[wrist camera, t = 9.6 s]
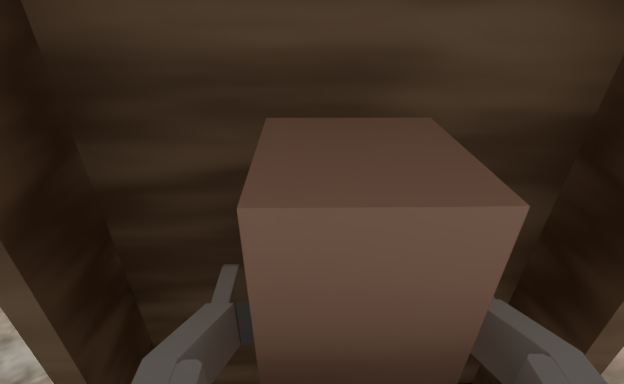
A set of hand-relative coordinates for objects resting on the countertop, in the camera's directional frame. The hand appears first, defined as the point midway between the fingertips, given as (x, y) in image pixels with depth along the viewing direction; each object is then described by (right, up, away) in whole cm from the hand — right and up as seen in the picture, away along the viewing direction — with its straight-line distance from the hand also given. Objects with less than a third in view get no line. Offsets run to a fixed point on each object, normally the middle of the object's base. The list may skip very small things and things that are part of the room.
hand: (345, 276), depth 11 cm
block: (0, -7, +3) cm, 7 cm away
